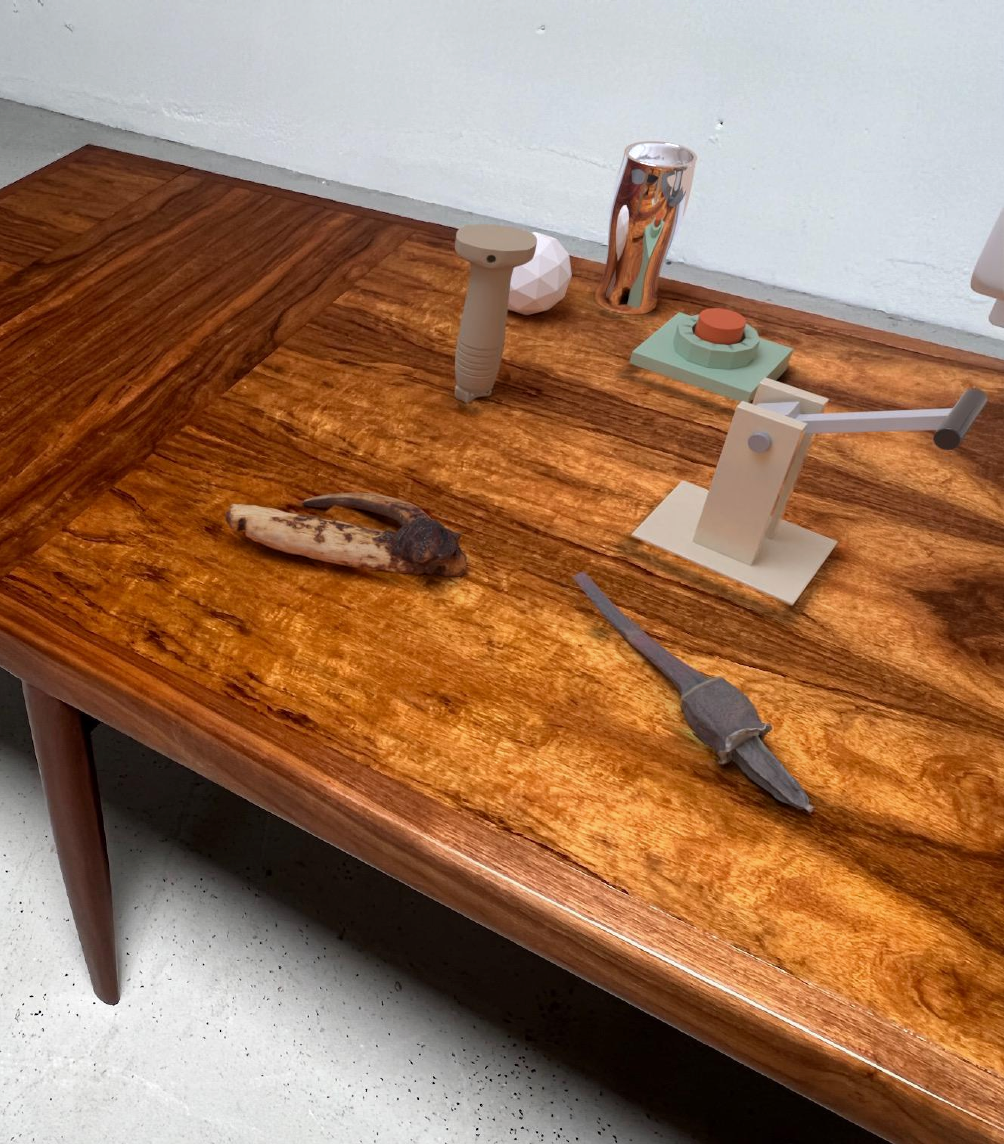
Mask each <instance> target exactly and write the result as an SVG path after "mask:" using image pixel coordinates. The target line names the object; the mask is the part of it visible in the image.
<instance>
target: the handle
mask: <svg viewBox="0 0 1004 1144" xmlns="http://www.w3.org/2000/svg"><path fill="white" fill-rule="evenodd" d="M536 245H537V238H536V236H535V235H534V234H533V233H532V232H530V231H527V230H524V229H521V228H517V227H513V226H508V225H500V224H489V223H486V224H485V223H482V224H481V223H480V224H468V225H467V224H466V225H464V226H461V227H460V228H458V229H457V231H456V233H455V241H454V250H455V253H456V254H457V255H458V256H459V257H460V258H462V259H463V260H465V261H466V262H468V263H469V264H470V271H469V272H470V274H469V278H468V285H467V288H466V289H467V290H466V296H465V300H464V305H463V311H462V314H461V318H460V319H461V320H460V325H459V329H458V334H457V340H456V347H455V360H454V375H455V377H454V378H455V381H456V385H454V397H455V398H456V400H457V401H460V402H464V403H465V404H466V405H468V404H469V403H471V402H472V401H473V400H475V399H477V398H482V397H483V398H484V397H490V396H491V395H492V389H493V388H494V385H495V382H496V380H497V378H498V374H499V371H500V368H501V363H502V359H503V355H504V348H505V341H506V332H507V322H508V311H509V310H508V301H509V292H510V283H511V277H512V273H513V269H514V268H515V267H517V266H521V265H524V264H526V263H528V262H529V261H531V260H532V259H533V257H534V254H535V250H536Z"/></svg>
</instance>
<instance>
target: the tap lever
mask: <svg viewBox="0 0 1004 1144" xmlns="http://www.w3.org/2000/svg"><path fill="white" fill-rule="evenodd" d="M987 403H988V395H987V394H986V392H985V391H984V390H982V389H980V388H976V387H975V388H974V387H973V388H969V389H966V390H964V391H963V392H962V394H961V395H960V396H959V398H958V399H957V401H956V402H955V404H954V405H953V406H952V407H950V408H949V407H947V408H924V409H922V408H921V409H902V410H901V409H899V410H898V409H897V410H877V411H854V412H853V411H852V412H851V411H849V412H848V411H847V412H829V413H827V412H824V414H801V407H800V402H781V403H760V404H757V405H756V406H759V407H762V408H765V409H768V410H770V411H773V412H776V413H779V414H782V415H785V416H788V417H790V418H793V419H796V420H799V421H802V422H805V423H807V424H808V425H807V428H806V430H805V433H804V434H815V435H816V434H847V433H848V434H849V433H881V432H882V433H883V432H884V433H885V432H887V433H889V432H917V431H921V432H922V431H923V432H924V431H935V433H934V434H933V437H932V439H933V443H934V445H935V446H936V447H937V448H939V449H941V450H943V451H952V450H954V449H956V448H958V447H959V446H960V444H961V443H962V442H963V440H964V438H965V437H966V436H967V434H968V432H969V431H970V430H971V428H972V426H973V425H974V424H975V421H976V420H977V419H978V417H979V416H980V414H981V413H982V411H983V409H984V408H985V406H986V405H987Z"/></svg>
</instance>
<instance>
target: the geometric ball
mask: <svg viewBox="0 0 1004 1144" xmlns="http://www.w3.org/2000/svg"><path fill="white" fill-rule="evenodd" d="M531 233H533V234H534V235H535V236H536V238H537V245H536V250H535V254H534V257H533V259H532V260H531V261H529V262H528V263H526V264H524V265H521V266H517V267H515V268H514V269H513V273H512V277H511V283H510V292H509V301H508V311H512V312H514V313H517V314H520V315H525V316H530V315H534V314H538V313H541V312H546V311H549V310H550V309H552V308H553V307H554V306H555V305H557V304H558V303H559V302H560V301H561V300H563V299H564V298H565V297H566V295H567V294H566V293H567V290H568V287H569V284H570V282H571V279H572V276H573V275H572V274H573V273H572V267H571V266H572V265H571V259H570V257H571V256H570V254H569V253H568V251H567V250H566V248H564V246H563V245H562V243H560V242H559V240H558V239H557V238H556V237H553V236H550V235H547V234H543V233H541V232H537V231H533V232H531Z"/></svg>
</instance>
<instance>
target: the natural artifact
mask: <svg viewBox="0 0 1004 1144" xmlns="http://www.w3.org/2000/svg"><path fill="white" fill-rule="evenodd" d="M571 578H572V579H573V580H574V581H575V582H576V583H577V584H578V586H579V588H581V590H582V591H583V592H584V594H586V596H587V598H589V600H590V601H591V602H592V604H593V605H594V607H596V608H597V610H598V611H599V613H600V614H601V615H602V616H603V618H604V619H605V620H606V621H607V622H608V623H609V625H610V626H612V628H613V629H614V630H615V631H616V632H617V633H618V634H619V635H620V636H621V637H622V638H623V639H625V640H626V641H627V643H629V644H630V645H631V646H632V648H634V649H636V650H637V651H638V652H639V653H641V654H642V655H643V656H644V657H645V658H646V659H647V660H648V661H649V662H650V663H652V664H653V665H654V666H655V667H656V668H657V669H658V670H659V671H660V672H661V673H662V674H664V676H665V677H666V678H667V679H668V680H669V681H670V682H671V683H672V684H673V685H674V688H675V689H677V690H678V692H679V694H680V700H681V704H680V709H681V710H682V712H683V716H684V719H685V722H686V724H687V726H689V727H690V728H691V730H692V731H693V732H692V731H691V732H692V734H693V735H694V736H695V737H696V738H697V739H698V740H700V741H701V742H702V743H703V744H704V745H706V746H708V747H709V748H711V749H713V750H714V752H716V755H717V756H718V757H719V760H718V761H717V763H718V764H719V765H726V764H728V763H730V762H732V761H733V762H735V763H736V764H737V765H738V767H739V768H740V769H741V771H742V772H743V773H745V775H746V776H747V777H748V778H749V779H750V780H752V781H753V782H754V783H755V784H756V785H758V786H759V787H761V788H763V790H765V791H767V792H768V793H770V794H771V795H772V796H773V797H774V798H775V799H776V800H778V801H779V802H780V803H784V804H787V805H789V806H791V807H794V808H795V809H797V810H801V811H802V810H805V811H807V812H808V813H809V814H811V813H812V812H813V811H814V809H815V807H814V806H813V805H811V804H810V799H809V797H808V795H807V793H806V791H805V790H804V788H803V787H802V786H801V784H800V783H799V781H798V780H797V778H795V777H794V776H793V775H792V774H790V772H789V771H788V770H787V768H786V767H785V766H784V765H783V763H782V762H781V761H780V760H779V759H778V757H777V756H776V755H775V754H774V753H773V752H772V751H771V750H770V749H769V747H768V746H767V745H766V744H765V743H764V742H763V740H764V739H765V736H766V735H768V733H770V732H771V731H772V730H773V725H772V724H771V723H770V722H768V723H766V722H763V721H762V720H761V718H760V716H759V714H758V710H757V708H756V706H755V704H753V702H752V701H751V700H750V698H749V697H748V696H747V695H746V694H745V693H743V692H742V691H741V690H740V689H739V688H738V687H737V686H735V685H734V684H732V683H730V682H728V681H727V679H726V678H725V677H723V676H722V675H720V676H711V677H708V676H707V675H705V674H704V673H703V672H700V671H698V670H696V669H695V668H693V666H690V665H689V664H687V662H686V663H685V662H684V661H683V660H682V659H679V657H677V656H675V655H674V654H672V653H671V652H670V651H668V650H667V649H666V648H664V647H663V646H662V645H661V644H659V643H658V642H657V641H656V640H654V639H653V638H652V637H650V636H649V634H647V633H646V631H644V630H643V629H642V628H641V627H640V625H639V624H638V623H637V622H635V621H634V620H632V619H630V618H629V617H628V616H626V615H625V614H624V613H623V611H621V610H620V609H619V608H618V606H616V605H615V604H614V603H613V602H612V601H611V599H609V598H608V597H607V596H606V594H605V593H604V592H603V591H602V590H601V588H600V587H599V586H598V585H597V584H596V583H595V582H594V581H593V579H592V578H591V577H590V576H589V575H588V574H587V573H586V572H584V571H581V572H579V573H576V574H575V575H573V576H572V577H571Z"/></svg>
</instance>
